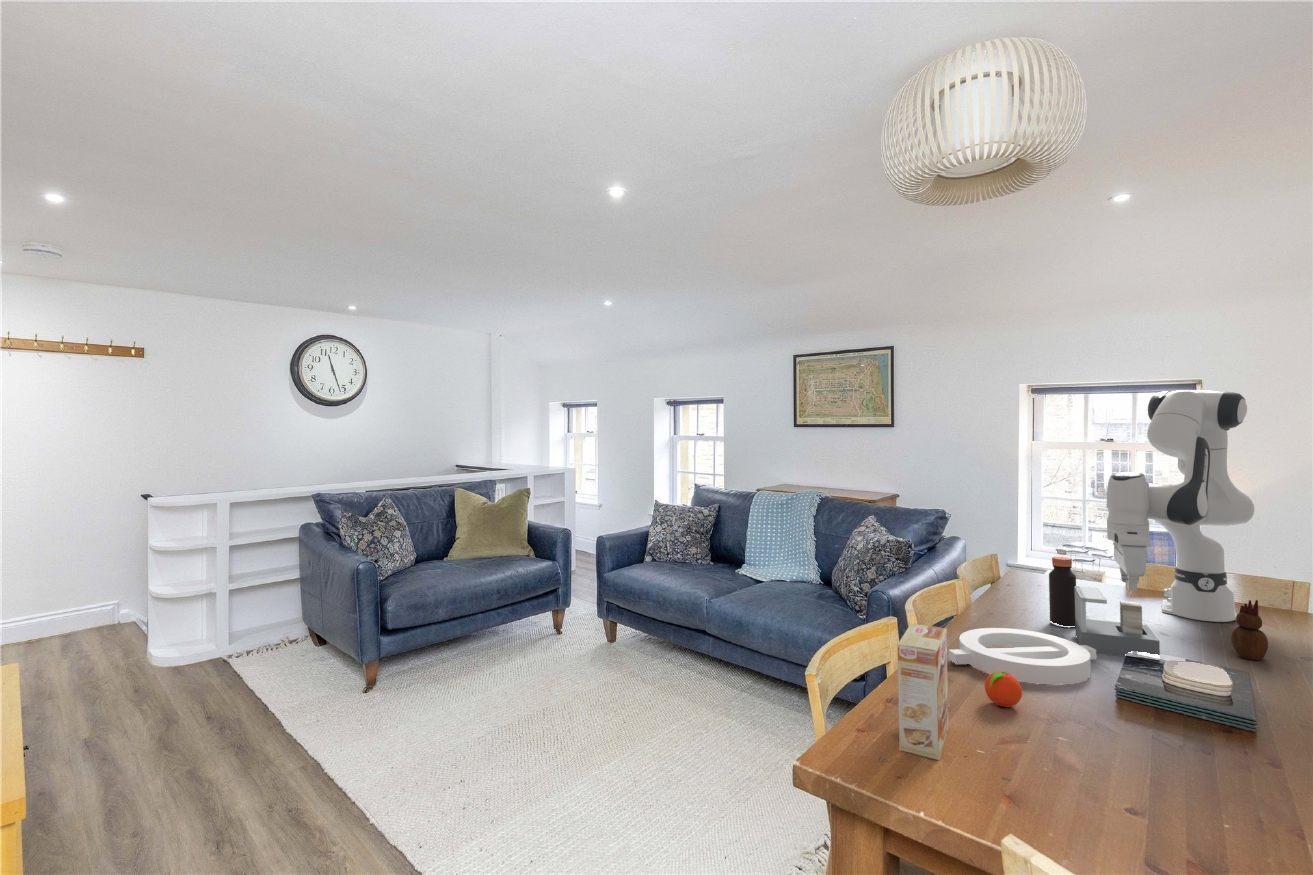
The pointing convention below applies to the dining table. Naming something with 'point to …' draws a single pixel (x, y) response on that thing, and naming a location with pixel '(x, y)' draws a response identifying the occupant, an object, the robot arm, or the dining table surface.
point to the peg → (1131, 617)
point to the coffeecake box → (923, 690)
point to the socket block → (1108, 629)
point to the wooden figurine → (1249, 633)
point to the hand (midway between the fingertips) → (1128, 585)
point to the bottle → (1062, 592)
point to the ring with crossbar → (1025, 655)
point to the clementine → (1003, 689)
